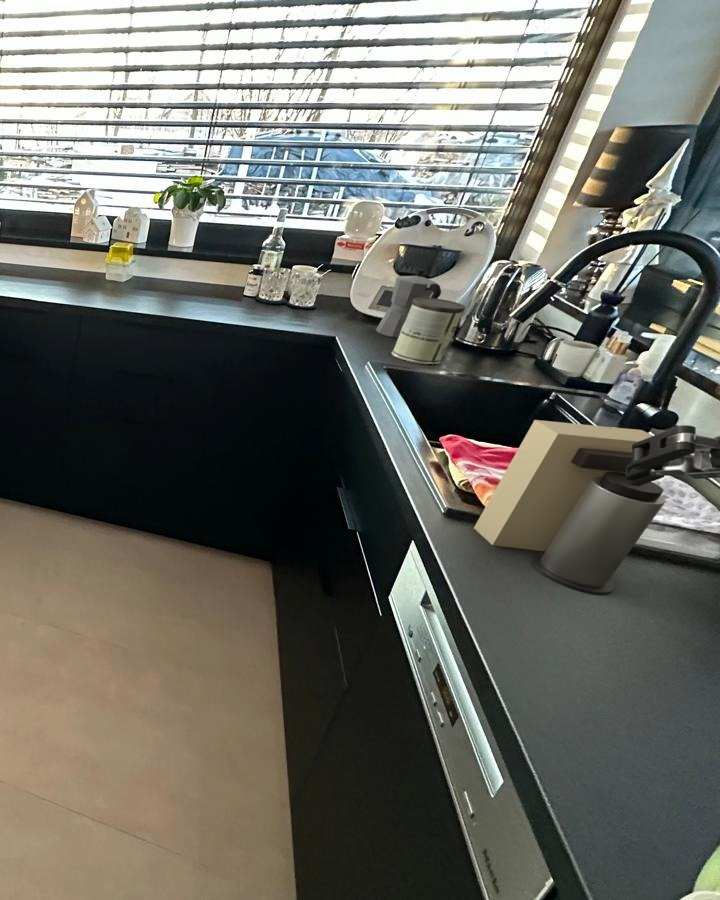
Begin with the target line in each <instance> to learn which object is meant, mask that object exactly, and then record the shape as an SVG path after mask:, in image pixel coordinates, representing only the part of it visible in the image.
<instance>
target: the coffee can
mask: <svg viewBox="0 0 720 900" xmlns="http://www.w3.org/2000/svg"><path fill="white" fill-rule="evenodd" d="M465 310H466V306H465V305H464V304H461V303H459V302H455V301H452V300H447V299H443V298H442V299H441V298H437V299H436V298H431V297H430V298H424V297H420V298H414V299H413V301H412V305H411V307H410V310H409V312H408V315H407V317H406V319H405V322H404V324H403V327H402V329H401V332H400V334H399V336H398V338H396V341H395V344H394V347H393V349H392V351H391V355H392V356H393V357H395V358H396V359H400V360H402V361H405V360H406V361H405V362H409V361H410V363H413V362H414V364H418V365H419V364H420V365H427V364H432V365H431V366H434V365H433V364H436V365H439V364H440V363H441V360H442V358H443V356H444V353H445V352H446V350H447V347H448V345H449V343H450V341H451V338H452V336H453V334H454V332H455V330H456V328H457V325H458V323H459V321H460V319H461V316H462V314H463V313H464V311H465Z"/></svg>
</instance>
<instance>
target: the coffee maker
mask: <svg viewBox="0 0 720 900" xmlns="http://www.w3.org/2000/svg"><path fill="white" fill-rule="evenodd" d="M652 436H654V435H652V434H651V433H648V432H646V431H645V430H643V429H635V428H634V429H633V428H623V427H613V426H603V425H592V424H581V423H571V422H562V421H561V422H560V421H550V420H539V419H534V420H533V422H532V424H531V425H530V427H529V429H528V431H527V433H526V434H525V436H524V438H523V439H522V441H521V443H520V445H519V447H518V449H517V450H516V452H515V454H514V456H513V457H512V459H511V461H510V463H509V464H508V467H506V470H505V471H504V473H503V476H502V477H501V478H500V480H499V482H498V483H497V486H496V488H495V490H494V491H493V493H492V495H491V496H490V497H489V500H488V501H487V504H486V506H485V507H484V509H483V511H482V512H481V514H480V516H479V518H478V520H477V521H476V523H475V525H474V527H473V529H474V530H475V531H477V533H478V534H479V535H481V536H482V537H483V539H485V540H486V541H487V542H488V543H489V544H490V545H492V546H495V547H504V548H511V549H512V548H513V549H522V550H529V551H530V550H531V551H539V553H535V554H533V555H532V557H530V564H531V566H532V567H533V568H534V569H535V570H536V571H537V572H538V573H540V574H541V575H542V576H544V577H546V578H547V579H549V580H551V581H553V582H555V583H557V584H558V585H561V586H564V587H566V588H568V589H571V590H573V591H578V592H580V593H585V594H589V595H596V596H606V595H610V594H612V593H613V592H614V590H615V584H614V582H613V581H612V580H611V578H610V579H609V581H608V582H607V583H606V585H605V586H603V587H599V588H593V587H586V586H582V585H578V584H575V583H572V582H569V581H567V580H565V579H562V578H560V577H558V576H556V575H555V574H553V573H551V572H550V571H548V570H547V569H546V568H545V567H544V566H543V565H542V563H541V558H542V557H543V555H544V554H545V552H546V551H547V549H548V547H549V546H550V544H551V543H552V541H553V540H554V538H555V537H556V535H557V533H558V532H559V530H560V529H561V527H562V526H563V524H564V523H565V521H566V520H567V518H568V516H569V515H570V513H571V512H572V510H573V509H574V507H575V506H576V504H577V502H578V501H579V499H580V498H581V496H582V495H583V493H584V492H585V490H586V488H587V487H588V485H589V484H590V482H591V481H592V479H593V478H595V477H600V476H601V477H603V475H604V473H606V472H621V473H626V466H627V465H629V464H631V462H632V444H634V443H636V442H639V441H641V440H644V439H647V438H649V437H652Z"/></svg>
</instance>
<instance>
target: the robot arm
mask: <svg viewBox="0 0 720 900" xmlns="http://www.w3.org/2000/svg"><path fill="white" fill-rule="evenodd" d="M696 432H697V429H696V426H693V425H686V424H685V425H683V424H682V425H678V426H675V427H672V428H670V429H667V430H664V431H662V432H659V433H656V434H654V435H653V436H652V437H649V438H647V439H644V440H641V441H639V442H636V443H634V444H632V462H631V464H629V465H627V466H626V477H625V479H626V480H627V483H628V484H629V485H634V486H641V485H644V484H646V483H649V482H655V481H658V480H660V479H664V478H665V477H667V476H688V477H689V478H691V479H693V480H699V479H719V478H720V435H718V436H715V437H709V436H703V435H698V434H696ZM705 452H709V453H708V456H709V459H710V465H711V467H702V463H703V462H702V461H703V460H702V459H703V457H702V456H703V453H705ZM681 458H682V463H681V464H679V465H671V464H670V463H671V462H673V461H676V460H678V459H681Z"/></svg>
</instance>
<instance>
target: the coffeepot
mask: <svg viewBox="0 0 720 900" xmlns="http://www.w3.org/2000/svg"><path fill="white" fill-rule="evenodd" d="M425 271H426V270H425V269H422V268H419V269H417V270H416V275H397V276H396V278H395V282H394V287H393V291H392V295H391V300H390V302H391V305H390V308H389V309H387V311H386V313H385V314H384V315H383V317H382V319H381V320H380V321H379V324H378V325H377V327H376V328H375V331H376V332H377V333H378V334H380V335H382V336H386V337H388V338H395V339H398V336H399V334H400V332H401V329H402V327H403V324H404V322H405V319H406V317H407V315H408V312H409V310H410V307H411V305H412V301H413V299H414V298H420V297H424V298H436V299H439V298H440V296H441V294H442V289H441V285H440V284H439V283H437V282H436V281H434V280H431V279H430V278H427V277H424V276H423V275H424V273H425Z"/></svg>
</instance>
